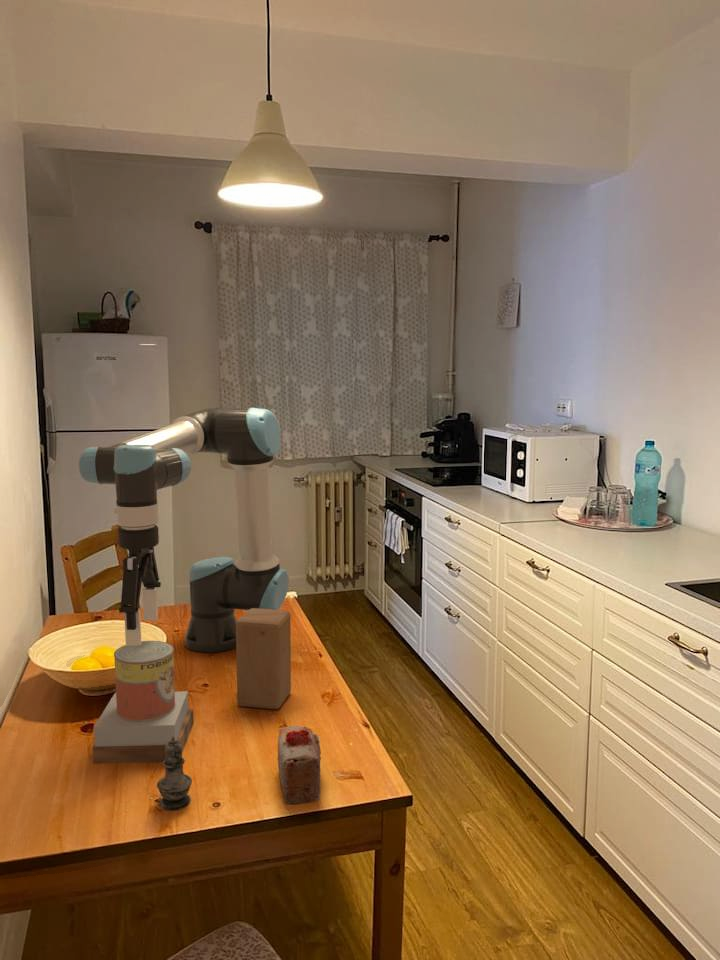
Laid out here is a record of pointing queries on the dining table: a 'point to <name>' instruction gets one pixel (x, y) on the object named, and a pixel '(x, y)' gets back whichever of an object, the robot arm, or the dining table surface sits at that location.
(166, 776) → the dark chess piece
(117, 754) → the walnut block
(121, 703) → the canned food
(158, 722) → the grey block
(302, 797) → the food item
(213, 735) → the dining table surface
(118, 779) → the dining table surface
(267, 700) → the wooden block
